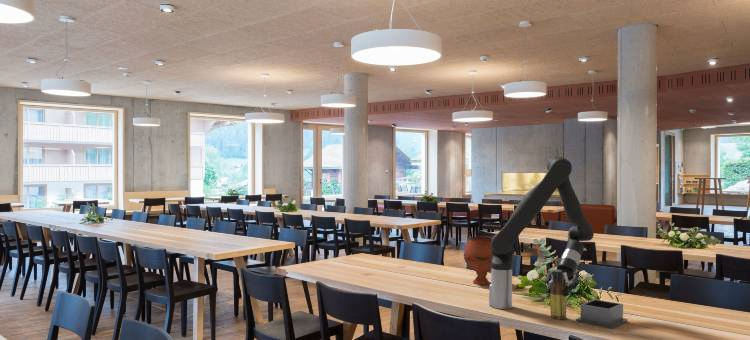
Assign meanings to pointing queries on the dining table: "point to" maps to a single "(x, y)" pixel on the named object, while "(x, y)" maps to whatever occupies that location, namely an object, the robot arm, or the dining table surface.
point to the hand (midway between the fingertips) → (556, 293)
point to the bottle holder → (602, 314)
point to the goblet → (479, 257)
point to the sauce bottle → (557, 296)
